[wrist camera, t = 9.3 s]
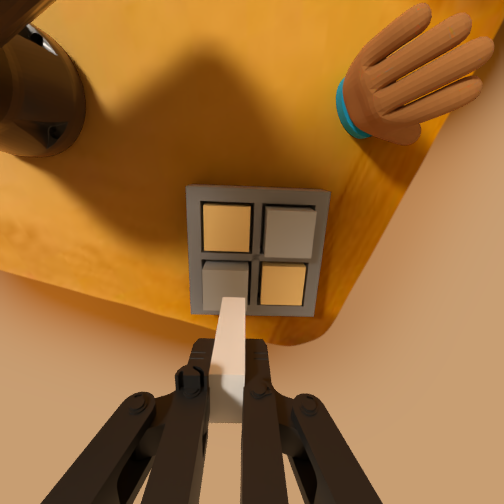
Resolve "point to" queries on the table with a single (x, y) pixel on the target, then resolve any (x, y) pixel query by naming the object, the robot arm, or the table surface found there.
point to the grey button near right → (288, 231)
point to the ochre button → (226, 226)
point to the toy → (410, 76)
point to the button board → (254, 242)
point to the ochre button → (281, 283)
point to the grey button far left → (224, 282)
